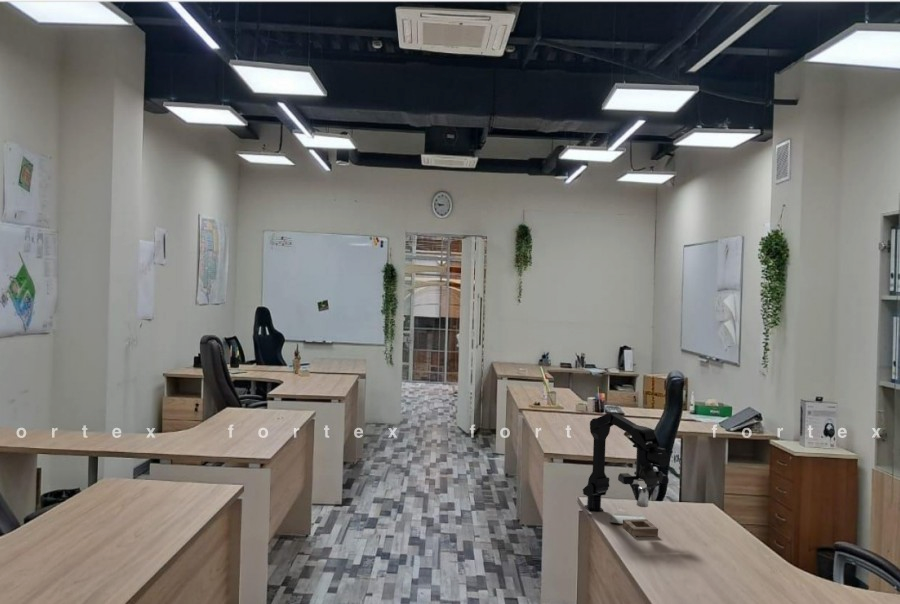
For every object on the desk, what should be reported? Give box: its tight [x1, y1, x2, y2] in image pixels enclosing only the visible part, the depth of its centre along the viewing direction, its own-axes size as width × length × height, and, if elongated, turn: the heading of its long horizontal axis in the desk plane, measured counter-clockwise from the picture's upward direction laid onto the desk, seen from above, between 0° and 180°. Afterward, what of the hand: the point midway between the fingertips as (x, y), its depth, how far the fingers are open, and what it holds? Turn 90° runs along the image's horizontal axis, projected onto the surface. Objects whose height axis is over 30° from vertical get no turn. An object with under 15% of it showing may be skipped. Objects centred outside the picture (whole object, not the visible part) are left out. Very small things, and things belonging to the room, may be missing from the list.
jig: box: [622, 518, 659, 538], centre depth 247 cm, size 10×10×3 cm
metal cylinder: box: [636, 485, 649, 508], centre depth 248 cm, size 4×4×7 cm
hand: (642, 500), depth 248 cm, fingers closed on metal cylinder, 4 cm apart
